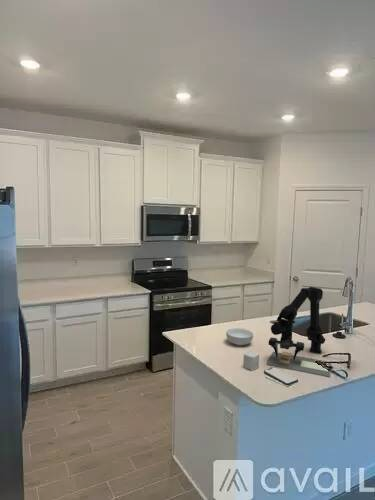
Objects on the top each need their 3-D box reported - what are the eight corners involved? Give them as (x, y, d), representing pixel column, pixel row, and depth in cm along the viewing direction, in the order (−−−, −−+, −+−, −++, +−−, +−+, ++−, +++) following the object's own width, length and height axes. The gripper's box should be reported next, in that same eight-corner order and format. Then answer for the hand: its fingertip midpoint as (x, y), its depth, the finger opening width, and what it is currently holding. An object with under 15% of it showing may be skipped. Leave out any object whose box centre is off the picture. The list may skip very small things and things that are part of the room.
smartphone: (299, 382, 168) (274, 369, 182) (299, 379, 168) (274, 366, 181) (287, 387, 163) (262, 373, 177) (287, 384, 163) (262, 370, 176)
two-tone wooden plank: (282, 355, 198) (282, 351, 197) (291, 357, 196) (291, 352, 195) (279, 363, 187) (279, 358, 187) (288, 365, 185) (288, 360, 185)
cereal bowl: (224, 346, 211) (224, 335, 210) (227, 337, 227) (227, 327, 226) (252, 349, 207) (252, 338, 206) (253, 340, 223) (253, 329, 222)
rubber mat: (272, 352, 203) (272, 351, 203) (331, 362, 190) (331, 361, 190) (266, 364, 186) (266, 363, 186) (330, 377, 173) (330, 376, 173)
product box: (259, 367, 183) (259, 354, 182) (252, 371, 178) (253, 357, 178) (249, 363, 187) (250, 351, 186) (242, 367, 183) (243, 353, 182)
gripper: (267, 333, 186) (265, 360, 188) (303, 339, 178) (301, 367, 180) (271, 327, 196) (269, 353, 198) (305, 332, 189) (303, 359, 190)
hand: (285, 358), depth 191 cm, fingers open, 9 cm apart
